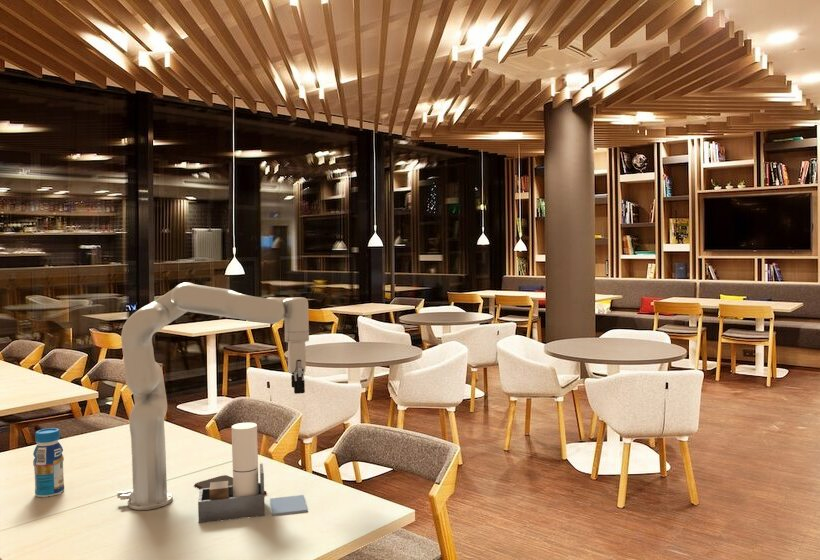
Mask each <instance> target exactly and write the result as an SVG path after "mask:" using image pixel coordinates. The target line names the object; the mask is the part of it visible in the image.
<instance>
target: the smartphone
mask: <svg viewBox="0 0 820 560" xmlns="http://www.w3.org/2000/svg"><path fill="white" fill-rule="evenodd" d="M220 481H228V486H233V476H230V475H227V474H223V475H219V476H216V477H212V478H208V479H204V480H201V481H199V482H196V483H194V484H193V487H194V486H195V487H194V488H196V487H197V488H196V489H198V488H199V489H198V490H200V489H203V488H210V482H220ZM266 495H267V490H264V496H266Z"/></svg>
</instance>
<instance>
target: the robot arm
mask: <svg viewBox="0 0 820 560" xmlns="http://www.w3.org/2000/svg"><path fill="white" fill-rule="evenodd" d="M308 300H309V299H307V298H306V297H301V296H299V297H297V296H295V297H287V298H286V297H285V298H283V297H275V296H274V297H273V296H272V297H271V296H270V297H266V298H265V297H260V296H253V295H248V294H243V293H240V292H238V291H235V290H232V289H227V288H222V287H213V286H208V285H200V284H196V283H192V282H190V281H189V282H185V281H184V282H182V283H179V284H177V285H175V287H174V288H172V289H171V290H169V291H168V292H166V293H165V294H164V295H161V296H159V297H158V298H157V299H155V300H153V301H152V302H150V303H148V304H146V305H144V306H142V307H141V308H139V309H138V310H136V311H134V312H133V313H132V314H131V315H130V316H129V317H128V318H127V319H126V321H125V323H124V324H123V327H122V330H121V333H120V335H121V336H120V337H121V338H120V339H121V340H120V341H121V349H122V355H123V357H122V358H123V365H124V374H125V382H126V383H125V384H126V386H127V388H128V390H129V391H130V393H133V394H132V395H133V401H134V405H133V406H132V407H131V409H130V413H129V418H128V423H129V432H130V445H131V446H130V449H131V470H132V471H131V472H132V489H130V488H129V489H128V490H126V491H125V490H121V491H120V490H119V491H117V494H116V495H117V499H120V500H121V501H122V500H127V507H128V508H129V509H130V510H131V509H132V510H137V511H147V510H155V509H158V508H162V507H165V506H167V505H169V504H170V503H171V502H172V501H173V499H174V498H173V494H172V493H171V492H168V489H167V487H168V483H167V455H166V454H167V453H166V451H167V450H166V433H165V432H166V429H165V417H166V414H167V411H168V398H167V393H166V386H165V379H164V374H163V373H164V372H163V370H162V367H161V365H160V364H159V363H158V362H156V359H155V353H154V352H155V351H154V346H153V341H152V340H153V335H154V334H156V333H158V332H159V331H161V330H162V329H164V328H165V327H166V326H168V325H169V324H171V323H172V322H174V321H175V320H177V319H178V318H180V317H182V316H184V314H186V313H189V312H190V313H195V314H204V315H212V316H217V317H222V318H223V317H224V318H230V319H237V320H238V319H239V320H241V321H250V322H257V323H263V324H272V325H273V324H276V323H279V322H281V320H283V321H284V342H285V343H287V370H288V372H289V375H290V376H291V377H290V378H291V388H293V391H294V392H293V393H294V394H296V395H297V394H300V395H301V394H305V387H306V386H305V385H306V384H305V375H304V374H305V373H306V368H307V367H306V366H307V365H306V358H307V356H306V355H307V354H306V353H307V352H306V351H307V349H306V342H309V341H310V328H309V327H310V325H309V324H310V323H309V321H310V320H309V301H308Z"/></svg>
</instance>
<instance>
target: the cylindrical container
mask: <svg viewBox="0 0 820 560" xmlns="http://www.w3.org/2000/svg"><path fill="white" fill-rule="evenodd" d="M258 449H259V447H258V424H257V423H255V422H239V423H235V424H233V425H231V451H232V452H231V457H232V478H233V497H240V496H250V495H259V485H258V483H259V455H258V454H259V453H258V451H259V450H258Z"/></svg>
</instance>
